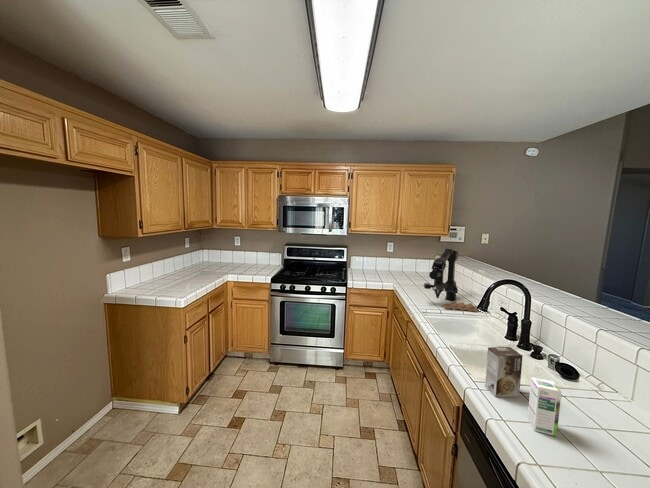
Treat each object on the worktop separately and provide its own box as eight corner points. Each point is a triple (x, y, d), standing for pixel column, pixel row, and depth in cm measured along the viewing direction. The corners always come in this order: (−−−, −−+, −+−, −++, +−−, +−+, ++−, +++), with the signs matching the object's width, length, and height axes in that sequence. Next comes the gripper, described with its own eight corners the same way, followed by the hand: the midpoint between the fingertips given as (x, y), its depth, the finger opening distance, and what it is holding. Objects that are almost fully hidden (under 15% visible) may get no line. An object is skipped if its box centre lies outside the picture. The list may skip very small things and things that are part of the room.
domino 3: (459, 308, 185) (473, 305, 182) (458, 306, 190) (471, 303, 187) (460, 310, 185) (474, 307, 182) (459, 308, 190) (472, 305, 187)
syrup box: (533, 431, 80) (538, 386, 79) (526, 417, 86) (531, 375, 84) (557, 437, 78) (562, 391, 77) (548, 422, 84) (553, 380, 82)
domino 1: (444, 307, 187) (457, 303, 185) (442, 304, 192) (455, 301, 190) (445, 309, 187) (458, 306, 185) (443, 307, 192) (456, 304, 190)
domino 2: (452, 307, 186) (465, 304, 184) (450, 305, 191) (463, 302, 189) (453, 310, 186) (466, 306, 184) (451, 307, 191) (464, 304, 189)
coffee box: (506, 386, 102) (510, 346, 100) (519, 397, 95) (523, 355, 94) (483, 386, 101) (487, 346, 100) (495, 397, 95) (499, 355, 93)
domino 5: (475, 310, 183) (489, 311, 181) (472, 308, 187) (486, 309, 185) (475, 313, 183) (489, 314, 181) (472, 310, 188) (486, 311, 186)
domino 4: (468, 309, 183) (482, 307, 181) (466, 306, 188) (480, 305, 185) (468, 311, 183) (483, 310, 181) (467, 309, 188) (481, 307, 185)
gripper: (426, 278, 182) (425, 300, 184) (455, 280, 178) (454, 303, 180) (424, 275, 193) (423, 296, 195) (451, 277, 189) (450, 298, 191)
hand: (437, 298), depth 190 cm, fingers closed
